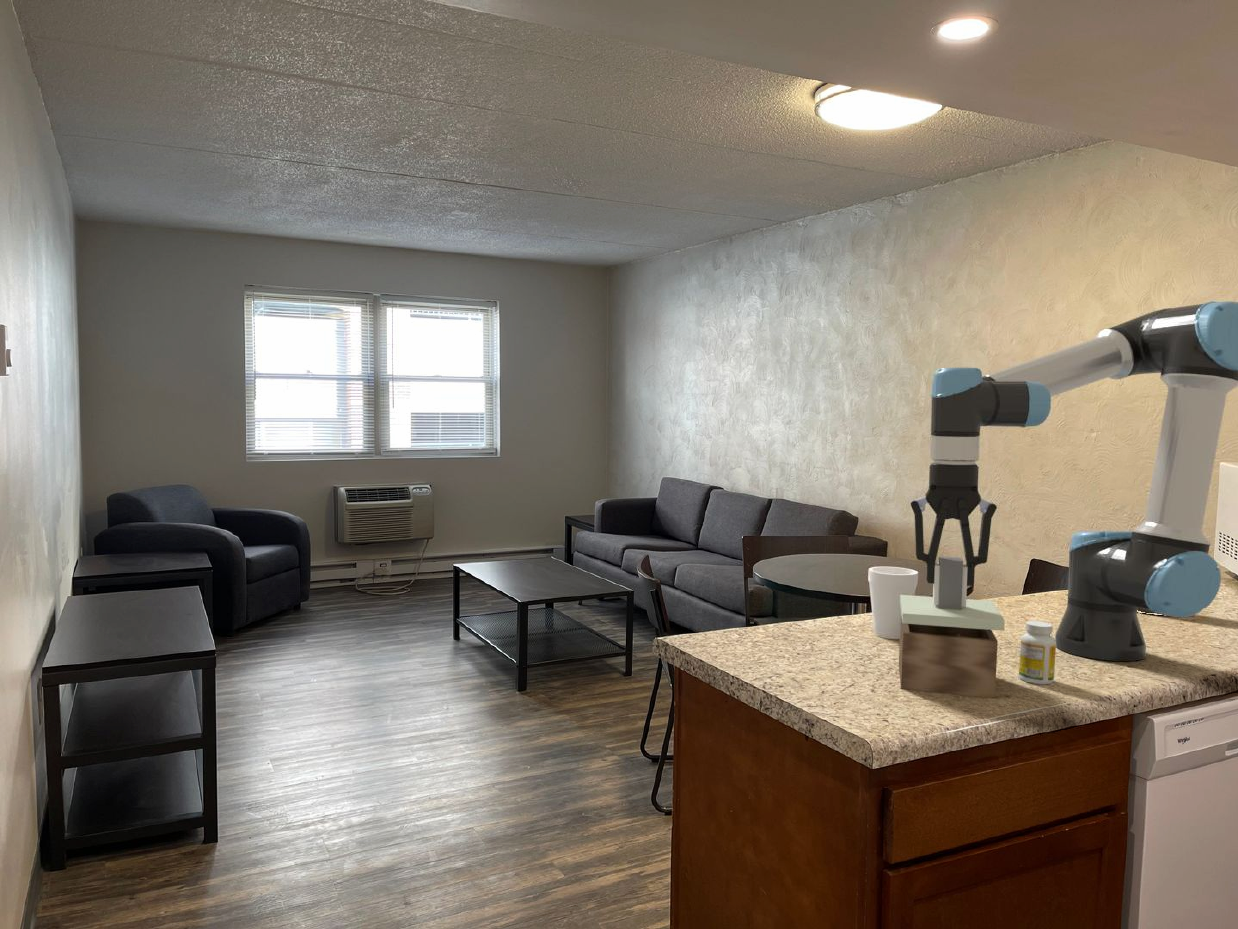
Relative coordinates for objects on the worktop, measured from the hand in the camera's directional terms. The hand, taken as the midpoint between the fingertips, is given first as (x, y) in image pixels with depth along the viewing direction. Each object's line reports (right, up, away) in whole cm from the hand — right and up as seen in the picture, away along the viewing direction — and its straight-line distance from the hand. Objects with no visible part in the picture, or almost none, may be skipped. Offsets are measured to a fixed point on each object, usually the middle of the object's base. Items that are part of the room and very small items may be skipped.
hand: (949, 603), depth 146 cm
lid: (0, -2, 0) cm, 2 cm away
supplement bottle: (+15, -13, +2) cm, 21 cm away
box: (-1, -13, +1) cm, 13 cm away
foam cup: (0, -11, +31) cm, 33 cm away
